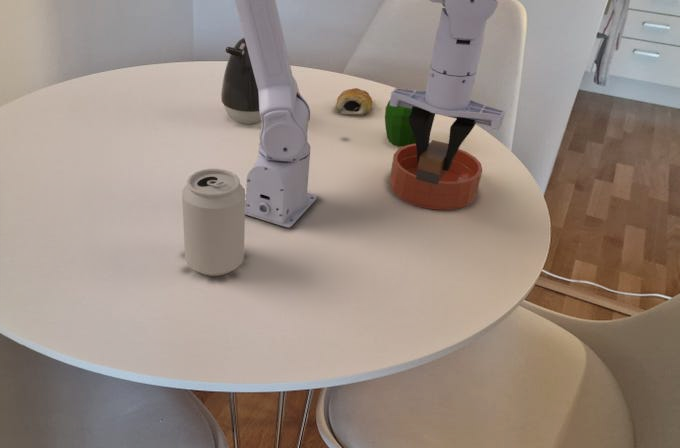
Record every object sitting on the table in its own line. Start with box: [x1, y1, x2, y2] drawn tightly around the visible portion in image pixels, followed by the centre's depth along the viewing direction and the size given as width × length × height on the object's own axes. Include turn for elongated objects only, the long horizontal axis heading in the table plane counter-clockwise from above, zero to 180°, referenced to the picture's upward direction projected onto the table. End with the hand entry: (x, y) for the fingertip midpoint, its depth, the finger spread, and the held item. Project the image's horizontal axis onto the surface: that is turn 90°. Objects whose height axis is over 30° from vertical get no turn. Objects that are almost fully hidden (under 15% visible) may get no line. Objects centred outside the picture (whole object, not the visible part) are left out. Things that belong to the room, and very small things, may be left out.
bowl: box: [389, 142, 483, 211], centre depth 99 cm, size 13×13×4 cm
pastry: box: [335, 87, 373, 117], centre depth 125 cm, size 9×7×4 cm
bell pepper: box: [384, 88, 415, 148], centre depth 111 cm, size 8×8×10 cm
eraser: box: [416, 139, 449, 185], centre depth 89 cm, size 6×3×4 cm, turn 152°
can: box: [181, 168, 246, 277], centre depth 79 cm, size 8×8×12 cm
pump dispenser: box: [220, 37, 262, 125], centre depth 115 cm, size 10×10×15 cm
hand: (434, 164), depth 89 cm, fingers closed on eraser, 3 cm apart
